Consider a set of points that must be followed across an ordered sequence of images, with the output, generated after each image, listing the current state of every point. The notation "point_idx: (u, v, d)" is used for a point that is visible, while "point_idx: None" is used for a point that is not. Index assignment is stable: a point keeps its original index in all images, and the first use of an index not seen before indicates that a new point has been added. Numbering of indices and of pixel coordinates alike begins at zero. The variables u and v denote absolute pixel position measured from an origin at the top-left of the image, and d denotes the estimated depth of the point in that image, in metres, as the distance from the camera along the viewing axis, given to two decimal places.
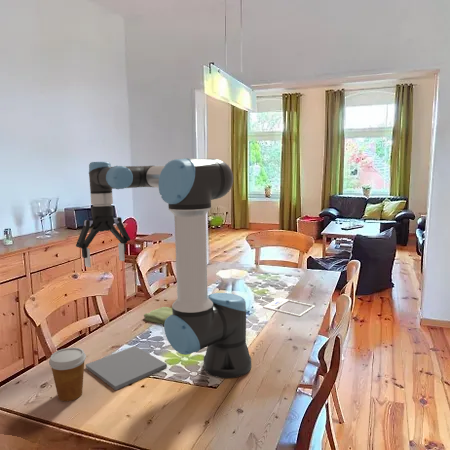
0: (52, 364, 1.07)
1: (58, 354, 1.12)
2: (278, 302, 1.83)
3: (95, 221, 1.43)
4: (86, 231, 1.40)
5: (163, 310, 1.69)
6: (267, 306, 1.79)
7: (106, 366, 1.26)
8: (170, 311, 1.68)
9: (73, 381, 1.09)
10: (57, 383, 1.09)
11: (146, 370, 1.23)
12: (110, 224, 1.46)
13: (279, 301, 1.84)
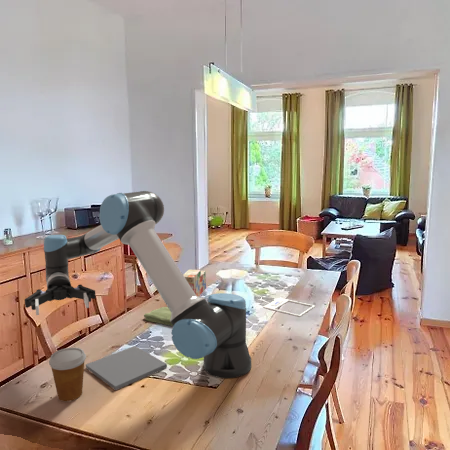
0: (52, 364, 1.07)
1: (58, 354, 1.12)
2: (278, 302, 1.83)
3: (48, 289, 1.30)
4: (35, 293, 1.26)
5: (163, 310, 1.69)
6: (267, 306, 1.79)
7: (106, 366, 1.26)
8: (170, 311, 1.68)
9: (73, 381, 1.09)
10: (57, 383, 1.09)
11: (146, 370, 1.23)
12: (66, 286, 1.31)
13: (279, 301, 1.84)
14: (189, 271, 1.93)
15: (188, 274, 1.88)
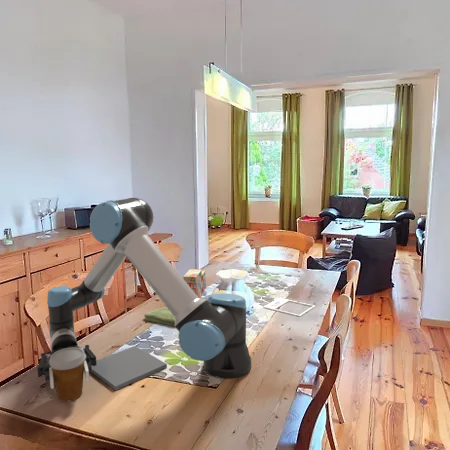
0: (52, 364, 1.07)
1: (58, 354, 1.12)
2: (278, 302, 1.83)
3: (52, 351, 1.21)
4: (43, 358, 1.16)
5: (163, 310, 1.69)
6: (267, 306, 1.79)
7: (106, 366, 1.26)
8: None
9: (73, 381, 1.09)
10: (57, 383, 1.09)
11: (146, 370, 1.23)
12: (71, 347, 1.22)
13: (279, 301, 1.84)
14: (190, 271, 1.94)
15: (190, 274, 1.89)
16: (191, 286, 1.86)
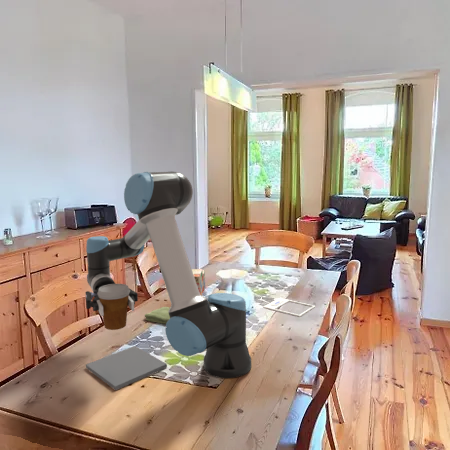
0: (101, 294, 1.17)
1: (105, 288, 1.22)
2: (278, 302, 1.83)
3: (95, 290, 1.31)
4: (88, 294, 1.26)
5: (164, 310, 1.69)
6: (267, 306, 1.79)
7: (106, 366, 1.26)
8: None
9: (120, 311, 1.19)
10: (105, 313, 1.19)
11: (146, 370, 1.23)
12: None
13: (279, 301, 1.84)
14: (192, 271, 1.94)
15: None
16: None
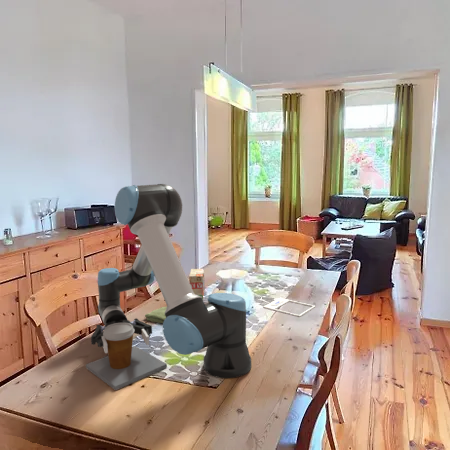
0: (106, 335, 1.22)
1: (110, 327, 1.26)
2: (278, 302, 1.83)
3: (106, 324, 1.35)
4: (97, 329, 1.31)
5: (164, 310, 1.69)
6: (267, 306, 1.79)
7: (106, 366, 1.26)
8: None
9: (124, 351, 1.23)
10: (110, 352, 1.23)
11: (146, 370, 1.23)
12: (123, 320, 1.36)
13: (279, 301, 1.84)
14: (193, 270, 1.94)
15: (195, 273, 1.89)
16: (197, 285, 1.86)
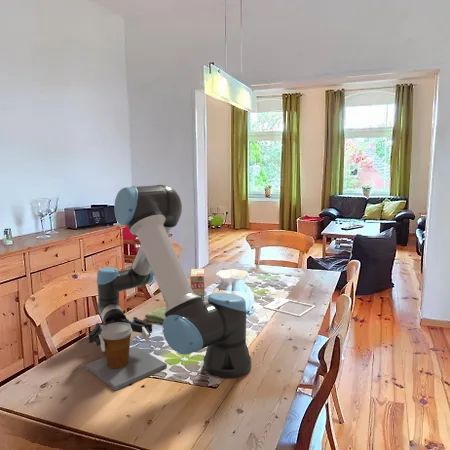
0: (103, 334, 1.22)
1: (108, 327, 1.27)
2: (278, 302, 1.83)
3: (106, 323, 1.36)
4: (96, 327, 1.32)
5: (164, 310, 1.69)
6: (267, 306, 1.79)
7: (106, 366, 1.26)
8: None
9: (121, 350, 1.23)
10: (107, 352, 1.23)
11: (146, 370, 1.23)
12: (122, 319, 1.37)
13: (280, 301, 1.84)
14: (194, 270, 1.94)
15: (195, 273, 1.90)
16: (198, 285, 1.87)
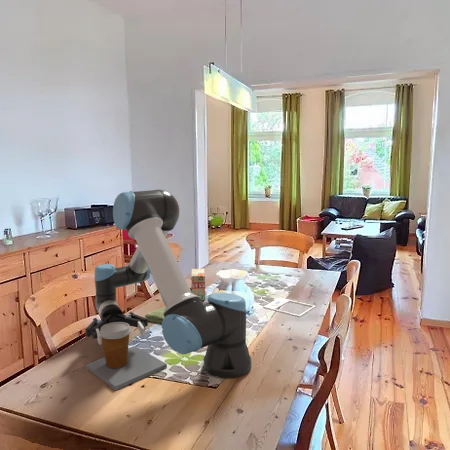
0: (101, 333, 1.23)
1: (108, 326, 1.27)
2: (278, 302, 1.83)
3: (103, 317, 1.41)
4: (93, 322, 1.36)
5: None
6: (267, 306, 1.79)
7: (106, 366, 1.26)
8: None
9: (118, 350, 1.23)
10: (105, 351, 1.24)
11: (146, 370, 1.23)
12: (119, 314, 1.41)
13: (280, 301, 1.84)
14: (194, 270, 1.94)
15: (196, 273, 1.90)
16: (199, 285, 1.87)
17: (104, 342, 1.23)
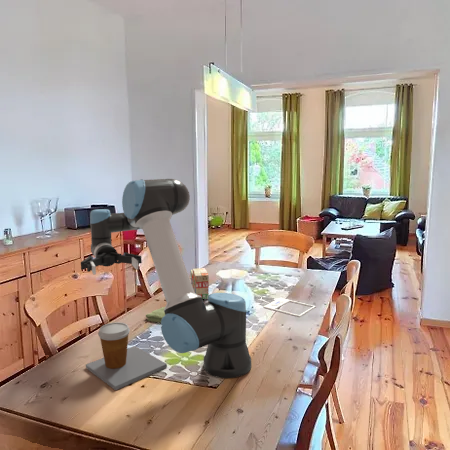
0: (100, 334, 1.23)
1: (107, 326, 1.27)
2: (279, 302, 1.83)
3: (98, 255, 1.44)
4: (88, 258, 1.39)
5: None
6: (267, 306, 1.79)
7: None
8: None
9: (116, 351, 1.23)
10: (104, 351, 1.24)
11: (146, 370, 1.23)
12: (114, 252, 1.45)
13: (280, 301, 1.84)
14: (196, 270, 1.95)
15: (199, 273, 1.90)
16: (203, 284, 1.88)
17: (102, 343, 1.23)
